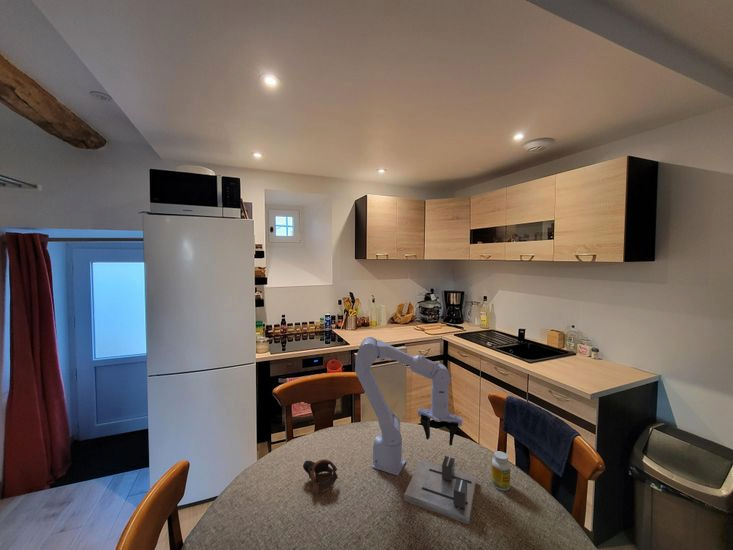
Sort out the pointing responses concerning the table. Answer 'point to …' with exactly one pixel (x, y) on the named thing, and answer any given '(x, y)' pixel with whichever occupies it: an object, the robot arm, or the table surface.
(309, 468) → the pottery mug
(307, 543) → the table surface
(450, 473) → the far fader
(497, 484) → the supplement bottle
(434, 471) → the fader panel
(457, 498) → the block
